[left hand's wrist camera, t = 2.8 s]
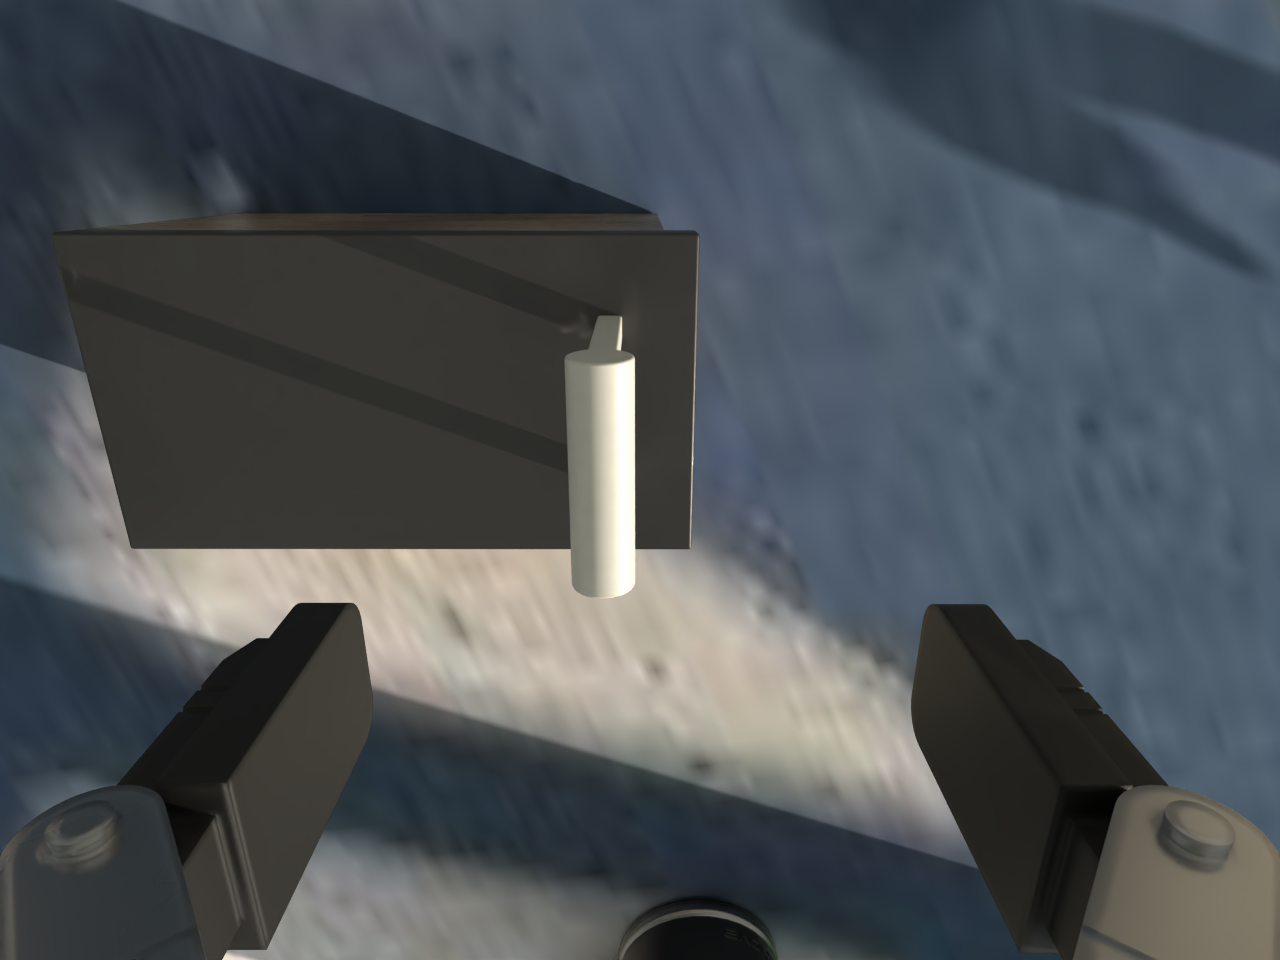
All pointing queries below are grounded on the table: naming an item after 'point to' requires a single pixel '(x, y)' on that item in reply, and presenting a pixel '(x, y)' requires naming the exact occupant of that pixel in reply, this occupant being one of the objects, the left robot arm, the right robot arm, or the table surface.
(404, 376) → the lid
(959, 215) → the table surface
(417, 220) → the chest
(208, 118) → the table surface
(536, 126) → the table surface
